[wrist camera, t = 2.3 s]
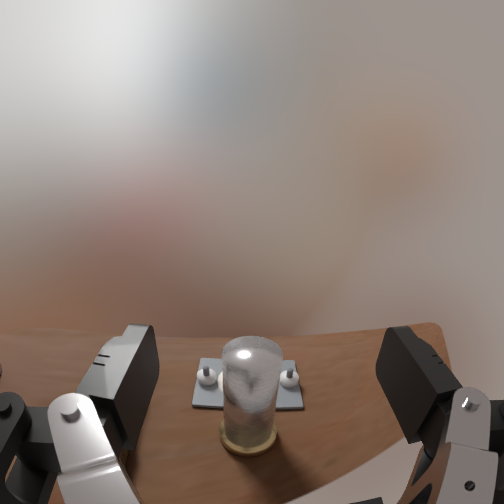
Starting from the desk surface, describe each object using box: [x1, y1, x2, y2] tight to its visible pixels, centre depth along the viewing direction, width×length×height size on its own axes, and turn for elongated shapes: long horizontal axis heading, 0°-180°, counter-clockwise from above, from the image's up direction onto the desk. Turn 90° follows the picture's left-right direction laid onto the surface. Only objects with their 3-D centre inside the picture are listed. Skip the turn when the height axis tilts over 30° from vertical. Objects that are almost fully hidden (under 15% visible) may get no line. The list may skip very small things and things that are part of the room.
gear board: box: [192, 358, 303, 409], centre depth 36 cm, size 13×9×2 cm
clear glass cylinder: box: [220, 336, 283, 457], centre depth 26 cm, size 6×6×12 cm
